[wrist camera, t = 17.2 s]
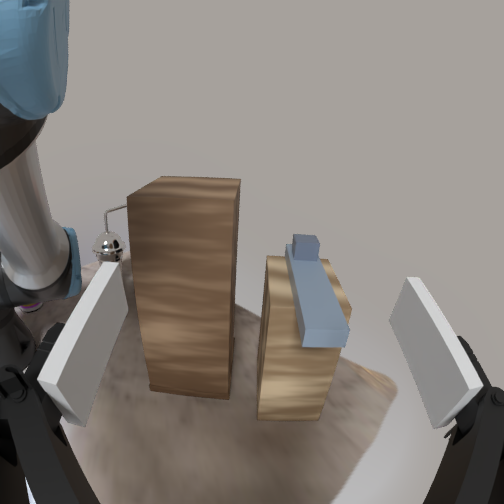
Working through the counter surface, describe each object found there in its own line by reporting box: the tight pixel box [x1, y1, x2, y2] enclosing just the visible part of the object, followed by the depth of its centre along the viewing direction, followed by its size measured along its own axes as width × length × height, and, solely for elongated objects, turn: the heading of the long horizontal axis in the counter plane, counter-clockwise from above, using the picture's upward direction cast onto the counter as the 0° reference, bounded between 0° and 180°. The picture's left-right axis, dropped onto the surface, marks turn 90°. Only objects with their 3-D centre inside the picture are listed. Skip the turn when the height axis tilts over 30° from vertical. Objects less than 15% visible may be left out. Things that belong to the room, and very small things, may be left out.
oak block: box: [257, 256, 352, 421], centre depth 43 cm, size 14×9×20 cm, turn 179°
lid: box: [285, 234, 350, 347], centre depth 35 cm, size 20×4×4 cm, turn 179°
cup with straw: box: [92, 204, 127, 276], centre depth 69 cm, size 8×9×20 cm
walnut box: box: [127, 176, 241, 400], centre depth 45 cm, size 14×12×30 cm
